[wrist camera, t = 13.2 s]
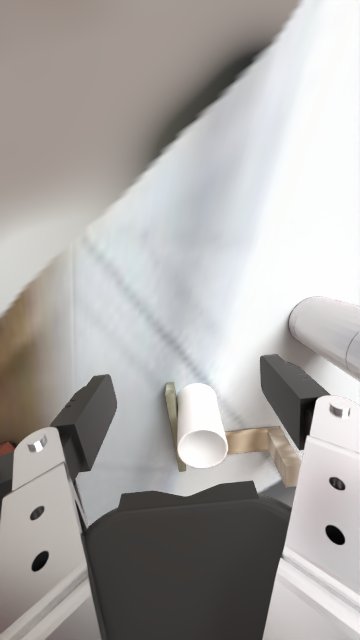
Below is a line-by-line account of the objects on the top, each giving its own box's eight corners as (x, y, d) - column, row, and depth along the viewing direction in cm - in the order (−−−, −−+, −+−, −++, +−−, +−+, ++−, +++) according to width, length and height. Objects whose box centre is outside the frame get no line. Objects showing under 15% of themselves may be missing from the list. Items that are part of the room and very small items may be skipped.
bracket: (279, 369, 42) (305, 398, 33) (279, 444, 47) (302, 485, 38) (166, 383, 43) (163, 414, 34) (179, 454, 48) (178, 497, 39)
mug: (231, 415, 45) (249, 468, 34) (198, 433, 47) (204, 489, 35) (203, 375, 43) (212, 418, 31) (169, 395, 44) (165, 443, 32)
